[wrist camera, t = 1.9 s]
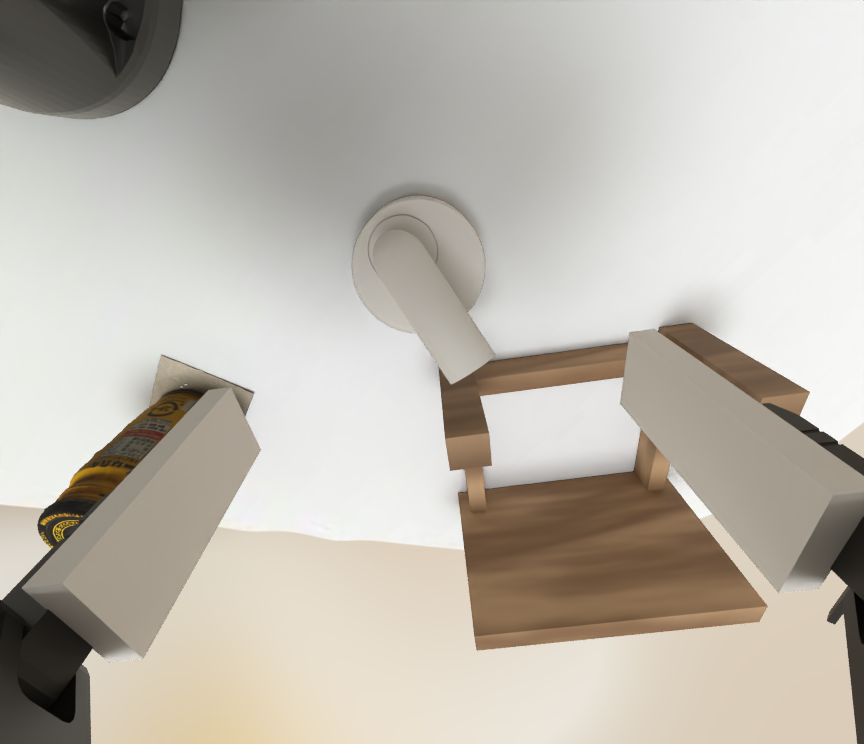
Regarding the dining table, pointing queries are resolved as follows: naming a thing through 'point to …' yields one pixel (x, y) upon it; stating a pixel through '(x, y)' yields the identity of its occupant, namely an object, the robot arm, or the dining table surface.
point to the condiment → (132, 444)
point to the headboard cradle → (594, 517)
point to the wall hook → (425, 279)
